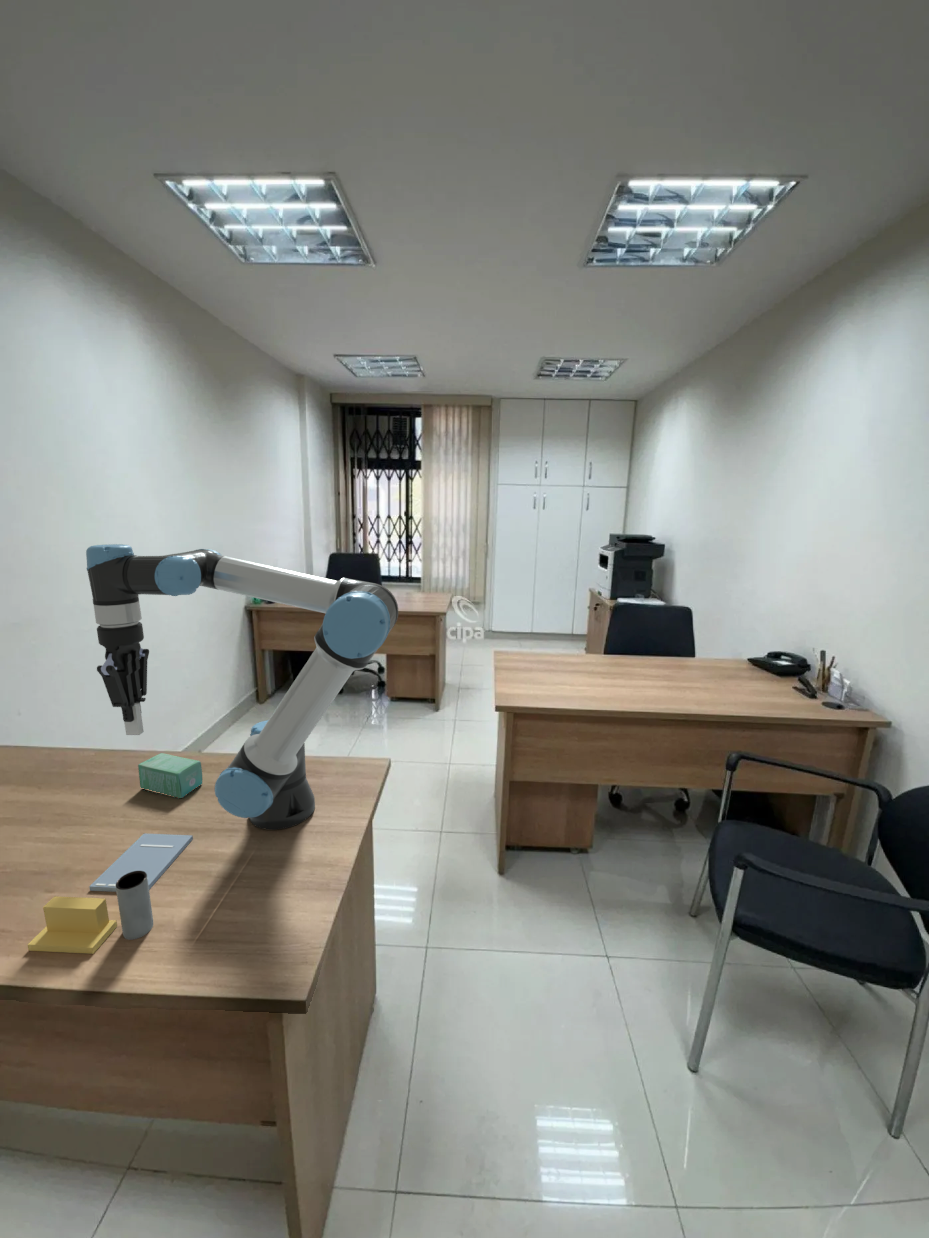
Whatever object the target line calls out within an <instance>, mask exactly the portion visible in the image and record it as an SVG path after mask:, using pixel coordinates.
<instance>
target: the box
mask: <svg viewBox="0 0 929 1238" xmlns="http://www.w3.org/2000/svg"><path fill="white" fill-rule="evenodd" d="M137 767H138V768H137V769H138V778H139V788H140V787H141V788H144V789H149V790H152V791H156V792H160V793H164V794H167V795H171V796H174V797H173V798H175V797H178V798H177V799H179V798H182V797H183V798H185V797H186V796H187V795H186V794H188V793H189V792H191V791H192V790H193V789H195V788H196V787H198V786H199V785H201V784H202V785H203V767H202V762H201V761H200V760H196V759H192V758H187V757H182V756H178V755H173V754H168V753H163V752H160V753H159V754H156V755H154V756H152V757H151V758H147V759H146V760H144V761H142V762H140V763H139V764H138V765H137ZM202 785H201V786H202ZM198 788H199V787H198ZM195 790H196V789H195ZM192 792H193V791H192ZM192 792H191V793H192ZM189 794H190V793H189ZM189 794H188V795H189ZM185 795H186V796H185ZM184 796H185V797H184ZM183 798H182V799H183Z"/></svg>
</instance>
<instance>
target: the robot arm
mask: <svg viewBox="0 0 929 1238" xmlns="http://www.w3.org/2000/svg"><path fill="white" fill-rule="evenodd" d="M85 551H86V552H85V556H86V571H87V576H88V579H89V585H90V589H91V595H92V596H91V597H92V604H93V611H94V618H95V623H96V624H97V625H98V626H97V627H96V633H97V634H96V635H97V638H98V640H97V641H98V644H99V645H100V646H102V647H104V649H105V652H104V653H105V654H104V659H105V662H104V663H103V664H102V665H97V667H96V672H97V673H98V674H99V675H100V676H101V678H102V680H103V683H104V686H105V689H106V692H107V694H108V698H109V701H110V704H111V706H112V707H113V708H121V713H122V720H123V722H124V728H125V729H124V730H125V735H126V736H140V735H142V734H143V733H144V724H143V716H142V706H141V703H143V702H144V703H145V701H146V700H147V699H146V697H145V696H147V693H148V659H149V654H150V650H149V648H142V647H141V644H140V642H142V641H144V638H145V635H144V627H143V623H142V622H141V620H142V611H141V605H140V599H139V595H149V596H150V595H153V596H154V595H155V596H172V597H178V596H187V595H193V594H194V593H195V592H196V591H197V589H198V588H199V587H204V588H209V589H213V590H214V589H215V590H218V591H219V590H220V591H224V592H228V593H233V594H237V595H241V596H245V597H249V598H250V597H251V598H255V599H260V600H264V601H269V602H272V603H277V604H281V605H286V606H291V607H296V608H300V609H305V610H308V611H313V612H318V613H323V614H325V615H324V616H323V620H322V623H321V626H320V627H319V629H318V630H317V631H316V633H315V635H314V637H313V638H314V639H313V640H314V643H315V646H316V647H315V649H314V651H313V652H312V653H311V655H310V656H309V658H308V660H307V662H306V663H305V664H304V666H303V667H302V669H301V670H300V671H299V673H298V675H297V676H296V677H295V680H294V681H293V682H292V683H291V686H290V687H289V689H288V690H287V692H286V693H285V694H284V696H283V697H282V699H281V700H280V702H279V703H278V704H277V707H276V708H275V710H274V712H273V713H272V714H271V716H270V717H269V718H268V719H267V720H262V721H260V722H257V723H255V724H254V725H252V726H251V728H250V733H249V737H247V739H246V740H245V741H244V743H243V745H242V746H241V747H240V749H239V750H238V751H237V753H236V755H235V756H234V758H233V760H232V761H231V762H230V764H229V765H228V767H227V768H225V769H223V771H221V772H220V774H219V776H218V778H217V779H216V780H215V784H214V795H215V797H216V798H217V802H218V804H219V805H220V806H221V808H223V809H224V810H225V811H226V812H228V813H229V814H230V815H232V816H235V817H238V818H242V819H248V818H249V821H250V823H251V824H252V825H253V826H255V827H257V828H259V829H262V830H268V831H269V830H270V831H271V830H272V831H275V830H276V831H277V830H282V829H288V828H291V827H293V826H296V825H298V824H299V825H300V824H302V822H304V821H306V820H307V819H308V818H310V817H311V815H313V813H314V811H315V809H316V808H315V807H316V800H315V795H314V792H313V790H312V788H311V786H310V783H309V782H308V779H307V773H306V770H307V769H306V748H305V746H306V745H305V742H306V741H307V740H308V738H309V736H310V735H311V734H312V732H313V731H314V730H315V728H316V726H317V725H318V723H319V722H320V721H321V720H322V717H323V716H324V714H325V713H326V712H327V711H328V709H329V707H330V706H331V705H332V703H333V701H334V700H335V698H336V697H337V696H338V694H339V693H340V691H341V690H342V688H343V687H344V685H345V684H346V682H347V681H348V679H349V678H350V676H351V675H352V674H353V672H354V671H358V670H359V671H360V670H363V669H365V668H366V667H367V665H368V664H369V662H370V661H371V660H372V658H373V657H374V655H375V654H376V653H377V652H378V649H380V648H381V647H382V646H383V644H384V643H385V641H386V639H387V638H388V635H389V633H390V632H391V631H392V630H393V628H394V626H396V623H397V621H398V617H399V604H398V602H397V600H396V597H395V595H394V594H393V593H392V592H391V591H390V590H389V589H388V588H386V587H385V586H383V585H381V584H379V583H375V582H369V581H364V580H358V579H352V578H347V577H342V578H340V579H339V580H335V579H330V578H327V577H322V576H317V575H312V574H309V573H308V574H307V573H303V572H298V571H295V570H290V569H286V568H280V567H275V566H272V565H269V564H268V565H267V564H263V563H259V562H258V563H257V562H254V561H249V560H245V559H240V558H236V557H231V556H228V555H227V556H226V555H222V554H221V553H220V552H218V551H217V550H214V549H210V548H208V549H206V548H199V549H195V550H191V551H185V552H178V553H172V554H165V555H135V554H134V553H135V552H134V551H133V548H132V546H131V545H129V544H122V543H121V544H120V543H119V544H117V543H114V544H113V543H112V544H111V543H110V544H109V543H108V544H96V545H91V546H89V547H87V549H86V550H85Z"/></svg>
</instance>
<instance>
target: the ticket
mask: <svg viewBox="0 0 929 1238" xmlns="http://www.w3.org/2000/svg"><path fill="white" fill-rule="evenodd" d="M193 837H194V836H193V835H191V834H169V833H168V834H167V833H143V834H142V835H141V836H139V838H138V839H137V840H136V841H135V842H133V843H132V844H131V845H130V846H129V847H128V848H127V849H126V850H125V851H124V852H123V853H122V854H121V855H120V856H119V857H118V858H117V859H116V860H115V861H114V862H113V863H112V864H111V865H109V867H108V868H106V870H104V871H103V873H101V874H100V875H99V876H98V878H96V879H95V880H94V881H93V882H92V883H91V884H90V885H89V886H88V888H89V891H91V892H111V893H112V892H113V893H114V892H115V893H117V892H116V882H117V881H118V880H119V879H120V878H121V877H122V876H124V875H125V874H127V873H130V872H133V871H144V872H146V874H147V878H148V885H149V890H151V888H152V887H154V885H155V884H156V883H157V882H158V880H159V879H160V878H161V877H162V875H164V873H165V872H167V870H168V869H169V867H170V866H172V864H173V863H174V862H175V860H176V859H177V858H178V857H179V856H180V855H181V854H182V853H183V852H184V850H185V849H187V847H188V845H189V844H190V843H191V842H192V841H193V840H194V838H193Z"/></svg>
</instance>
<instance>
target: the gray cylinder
mask: <svg viewBox="0 0 929 1238" xmlns="http://www.w3.org/2000/svg"><path fill="white" fill-rule="evenodd" d="M115 893H116V897H117V899H116V900H117V906H118V911H119V916H120V917H119V918H120V924H121V930H122V931H121V932H122V935H123V938H124V939H126V940H129V941H131V940H137V939H141V938H142V937H144V936H146V935H147V934H148V933H149V932H150V931H151V930H152V929H153V927H154V915H153V909H152V901H151V896H150V895H151V894H150V889H149V885H148V878H147V874H146V872H144V871H133V872H130V873H127V874H125V875H124V876H122V877H121V878H120V879H119V880H118V881H117V882H116V892H115Z"/></svg>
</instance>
